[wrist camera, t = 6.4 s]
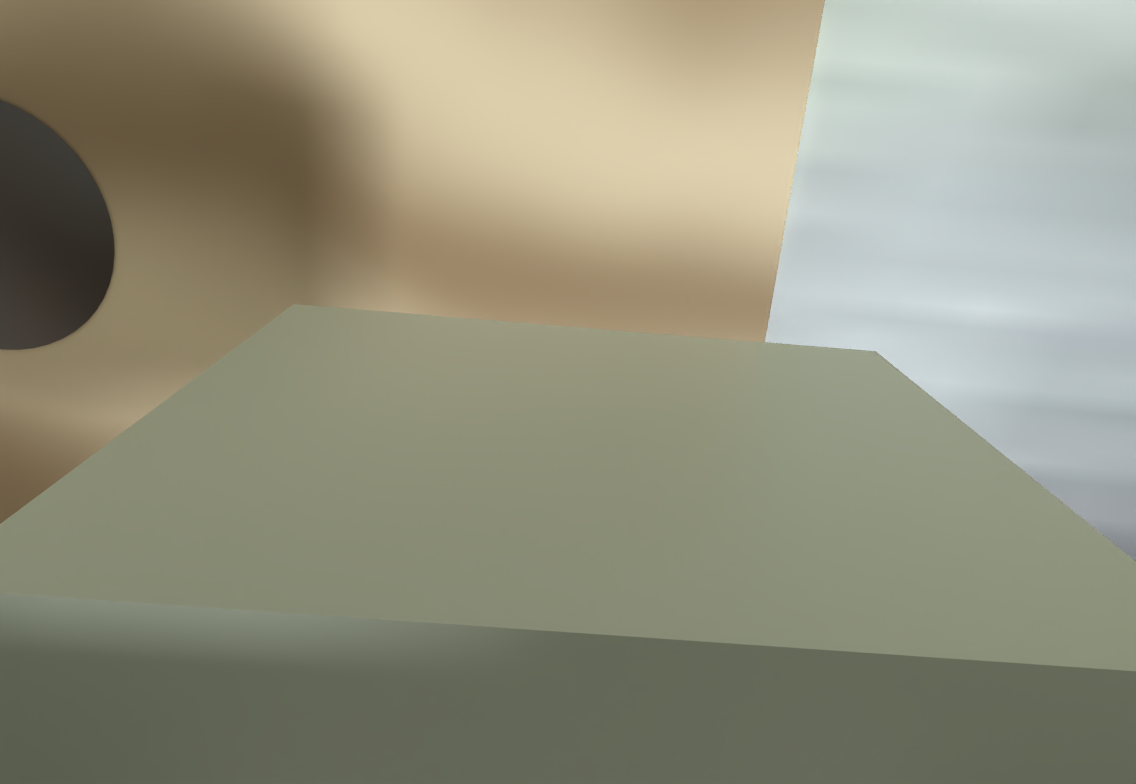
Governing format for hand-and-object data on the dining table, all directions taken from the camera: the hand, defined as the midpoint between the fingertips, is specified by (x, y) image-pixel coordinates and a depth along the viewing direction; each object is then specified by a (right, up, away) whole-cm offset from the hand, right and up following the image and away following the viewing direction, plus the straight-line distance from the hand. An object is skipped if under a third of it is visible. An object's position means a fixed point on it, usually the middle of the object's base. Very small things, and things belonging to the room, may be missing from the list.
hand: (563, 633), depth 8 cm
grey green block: (0, 0, +1) cm, 1 cm away
